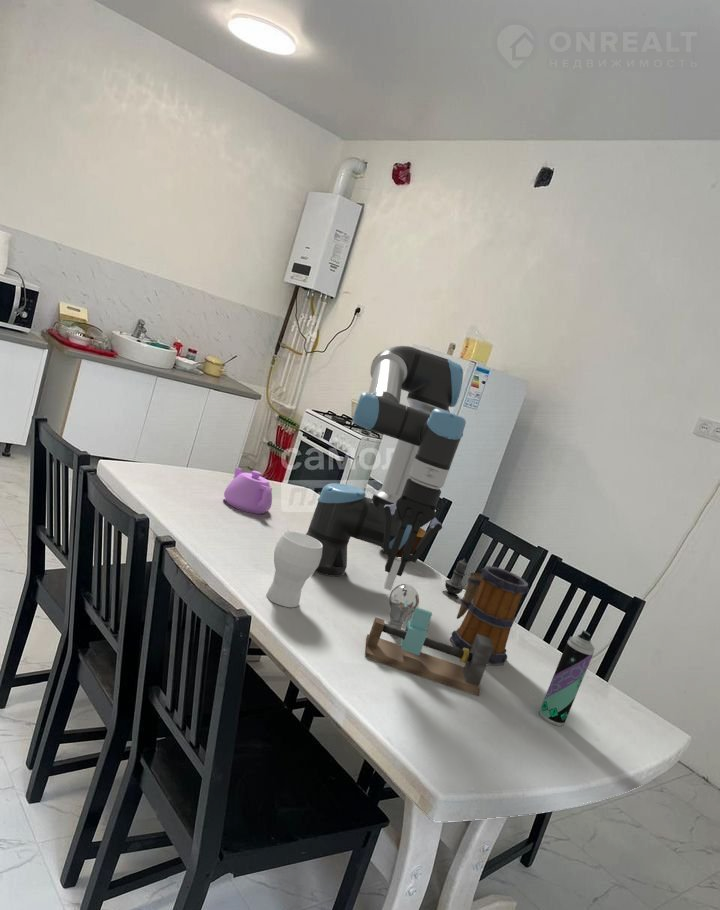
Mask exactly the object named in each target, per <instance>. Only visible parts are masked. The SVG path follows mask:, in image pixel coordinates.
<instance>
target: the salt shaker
mask: <svg viewBox="0 0 720 910" xmlns="http://www.w3.org/2000/svg"><path fill="white" fill-rule="evenodd" d="M467 567H468V563H467V562H466V558H463V559H461V560H458V561H457V564H456V567H455V569H453V574H452V577H451V578H450V579H445V584H444V585H445V586H444V587H445V590H442V591H441V592H442V594H443V595H444V596H446V597H448V598H450V599H452V600H460V596H459V594H460V593H462V592H463V590H465V587H464V586H463V585H462V581H463V578H464V576H466V573H465V572H466V570H467Z"/></svg>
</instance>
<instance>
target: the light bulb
mask: <svg viewBox="0 0 720 910" xmlns="http://www.w3.org/2000/svg"><path fill="white" fill-rule="evenodd" d="M388 601H389V607H390V612H389V617H390V618H389V620H388V622H387V624H388V625H391V626H394V627H397V628H400V629H402V627H403V625H404V623H405V621H406V620H407V619H408V617H409V616H410V615H411V614H413V613H414V610H415V608H416V607H418V608H419V605H420V596H419V593H418V591H417V589H416V588H415V587H414V586H412V585H411V584H407V583H401V584H399V585H398V584H397V586H395V587H393V588H392V589H391V592H390V593H389V599H388Z"/></svg>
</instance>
